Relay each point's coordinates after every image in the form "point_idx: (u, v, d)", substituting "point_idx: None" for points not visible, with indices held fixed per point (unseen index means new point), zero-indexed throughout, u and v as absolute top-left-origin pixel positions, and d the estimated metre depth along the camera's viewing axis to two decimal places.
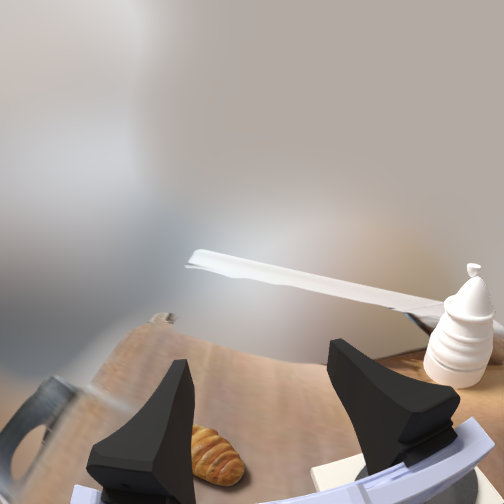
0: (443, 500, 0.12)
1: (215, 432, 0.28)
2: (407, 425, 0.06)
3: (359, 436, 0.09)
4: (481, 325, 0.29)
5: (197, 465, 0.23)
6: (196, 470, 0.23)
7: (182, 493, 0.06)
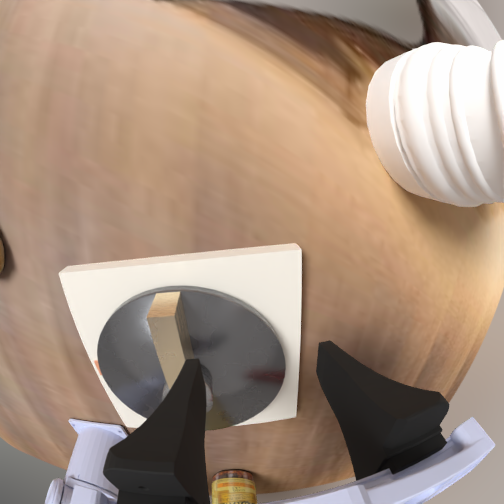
0: (216, 399, 0.20)
1: None
2: (392, 431, 0.06)
3: (347, 440, 0.09)
4: None
5: None
6: None
7: (199, 493, 0.06)
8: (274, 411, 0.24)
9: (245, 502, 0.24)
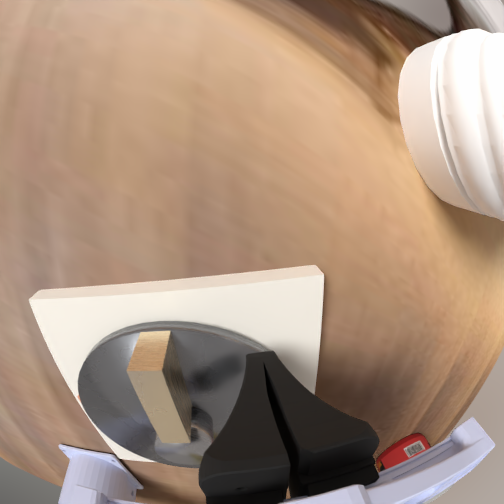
0: None
1: None
2: (302, 459, 0.06)
3: None
4: None
5: None
6: None
7: None
8: None
9: None
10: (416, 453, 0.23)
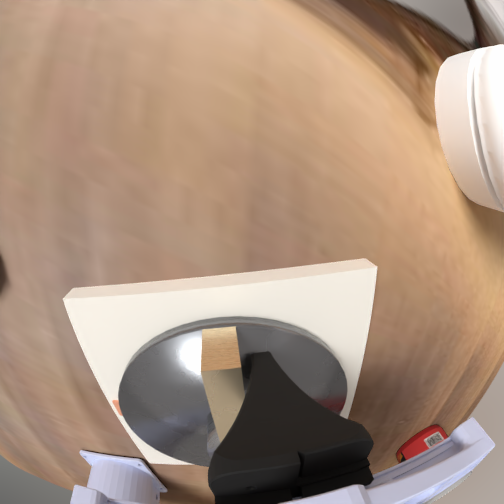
0: None
1: None
2: None
3: None
4: None
5: None
6: None
7: None
8: None
9: None
10: (436, 443, 0.23)
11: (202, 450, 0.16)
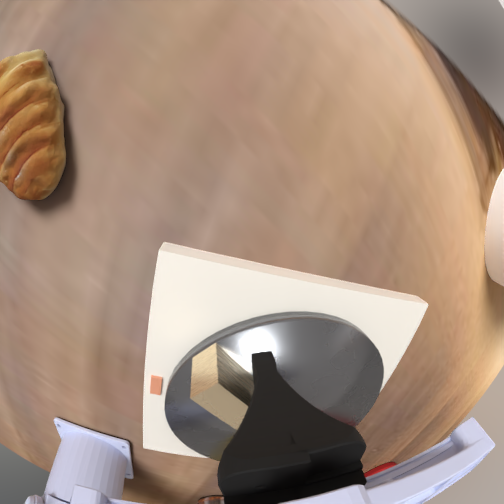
0: None
1: (31, 71, 0.08)
2: None
3: None
4: None
5: None
6: None
7: None
8: None
9: None
10: None
11: None
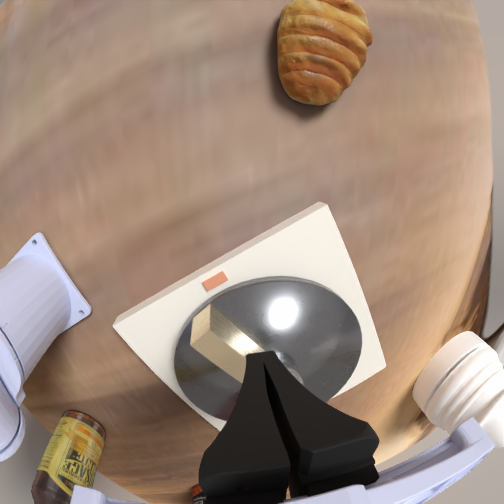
0: (310, 373, 0.21)
1: (369, 41, 0.13)
2: (302, 460, 0.06)
3: None
4: None
5: (294, 35, 0.13)
6: (285, 37, 0.14)
7: None
8: None
9: (95, 465, 0.19)
10: None
11: None
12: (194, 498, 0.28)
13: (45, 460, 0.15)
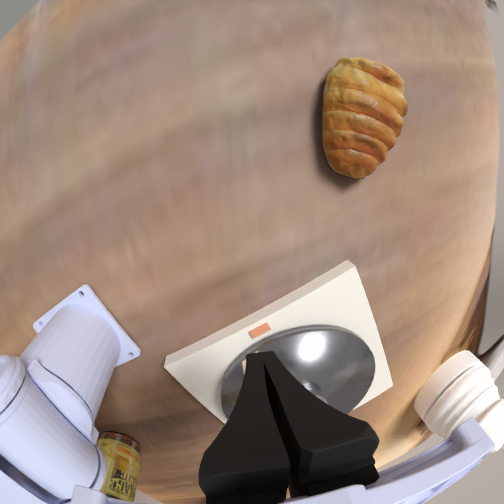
0: (332, 396, 0.23)
1: (404, 113, 0.16)
2: (302, 460, 0.06)
3: None
4: None
5: (341, 111, 0.16)
6: (332, 112, 0.16)
7: None
8: None
9: (135, 480, 0.22)
10: None
11: None
12: None
13: None
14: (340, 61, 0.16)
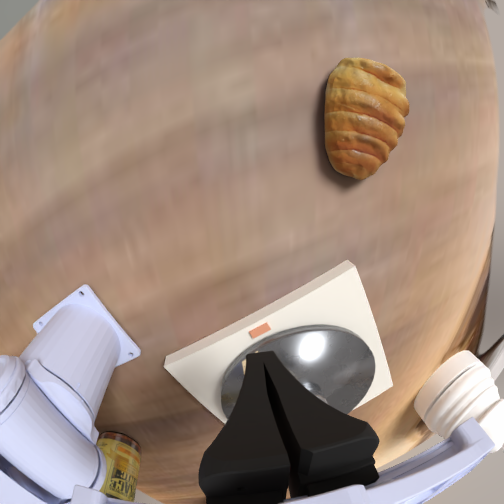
0: (332, 396, 0.23)
1: (406, 113, 0.16)
2: (302, 460, 0.06)
3: None
4: None
5: (344, 112, 0.16)
6: (335, 113, 0.16)
7: None
8: None
9: (135, 480, 0.22)
10: None
11: None
12: None
13: None
14: (342, 62, 0.16)
